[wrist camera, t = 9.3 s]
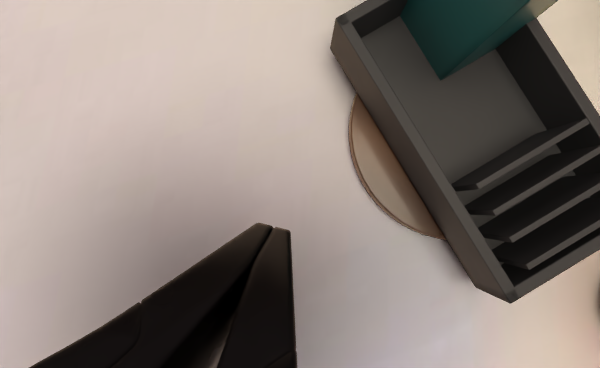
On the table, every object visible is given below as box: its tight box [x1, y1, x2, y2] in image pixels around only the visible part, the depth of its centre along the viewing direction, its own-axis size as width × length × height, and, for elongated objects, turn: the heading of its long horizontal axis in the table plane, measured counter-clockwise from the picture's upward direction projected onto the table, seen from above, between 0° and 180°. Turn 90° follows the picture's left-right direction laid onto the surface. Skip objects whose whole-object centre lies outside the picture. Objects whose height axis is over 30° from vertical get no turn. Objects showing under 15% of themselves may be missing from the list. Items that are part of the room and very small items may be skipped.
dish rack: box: [330, 0, 600, 303], centre depth 16 cm, size 8×18×12 cm, turn 30°
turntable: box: [349, 93, 447, 240], centre depth 22 cm, size 13×13×1 cm
